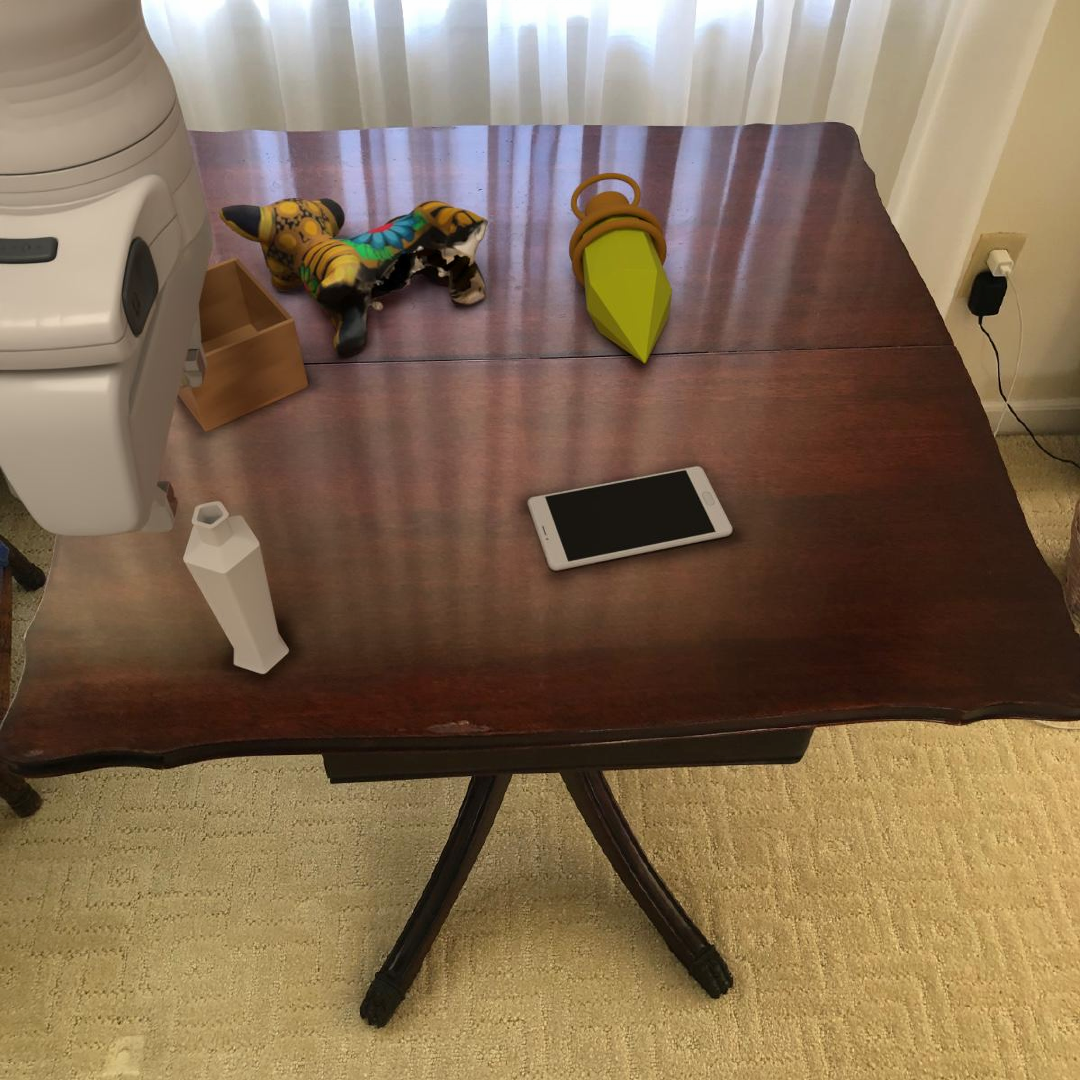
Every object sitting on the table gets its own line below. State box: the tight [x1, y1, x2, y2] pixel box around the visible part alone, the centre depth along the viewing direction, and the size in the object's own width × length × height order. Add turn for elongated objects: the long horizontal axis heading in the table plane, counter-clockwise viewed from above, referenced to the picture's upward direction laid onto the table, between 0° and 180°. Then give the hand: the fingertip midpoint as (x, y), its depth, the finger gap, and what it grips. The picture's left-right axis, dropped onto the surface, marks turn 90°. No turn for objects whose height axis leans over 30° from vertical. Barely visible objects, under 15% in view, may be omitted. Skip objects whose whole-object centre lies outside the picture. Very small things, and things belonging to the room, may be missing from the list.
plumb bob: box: [568, 172, 673, 364], centre depth 93 cm, size 9×9×25 cm
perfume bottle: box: [182, 500, 290, 675], centre depth 65 cm, size 5×4×15 cm
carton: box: [178, 256, 309, 433], centre depth 86 cm, size 10×11×7 cm
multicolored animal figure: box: [218, 197, 489, 357], centre depth 93 cm, size 20×12×18 cm
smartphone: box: [527, 465, 733, 572], centre depth 78 cm, size 8×1×15 cm
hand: (174, 444), depth 47 cm, fingers open, 8 cm apart
